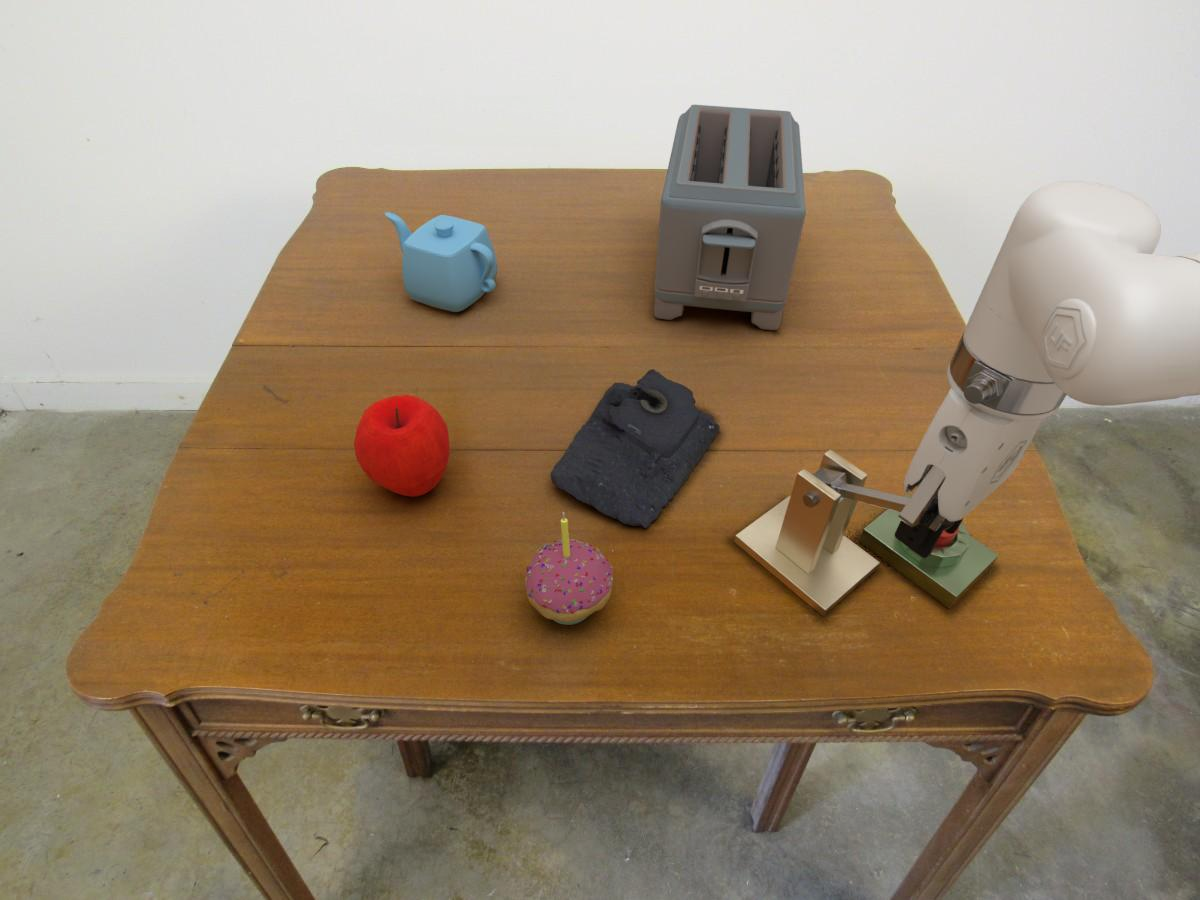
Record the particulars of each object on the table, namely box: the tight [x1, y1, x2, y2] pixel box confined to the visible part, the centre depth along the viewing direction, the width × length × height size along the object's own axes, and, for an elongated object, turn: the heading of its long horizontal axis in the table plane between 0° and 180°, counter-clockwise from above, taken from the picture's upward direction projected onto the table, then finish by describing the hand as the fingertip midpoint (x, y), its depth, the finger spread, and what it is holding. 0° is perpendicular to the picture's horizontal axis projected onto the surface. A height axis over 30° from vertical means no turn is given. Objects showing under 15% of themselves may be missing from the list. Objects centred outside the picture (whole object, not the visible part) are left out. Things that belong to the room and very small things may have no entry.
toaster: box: [653, 104, 807, 331], centre depth 109 cm, size 19×33×20 cm, turn 171°
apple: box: [353, 394, 451, 498], centre depth 80 cm, size 10×10×12 cm
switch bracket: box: [733, 448, 881, 617], centre depth 74 cm, size 12×9×13 cm
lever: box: [811, 468, 955, 531], centre depth 66 cm, size 14×3×3 cm, turn 40°
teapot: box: [384, 211, 498, 313], centre depth 109 cm, size 12×18×12 cm
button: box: [935, 527, 959, 547], centre depth 76 cm, size 4×4×2 cm
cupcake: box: [524, 511, 614, 626], centre depth 70 cm, size 9×8×12 cm
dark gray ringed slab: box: [550, 368, 720, 529], centre depth 87 cm, size 15×22×5 cm
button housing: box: [858, 492, 1000, 609], centre depth 77 cm, size 11×8×4 cm
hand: (925, 533), depth 64 cm, fingers closed on lever, 3 cm apart
